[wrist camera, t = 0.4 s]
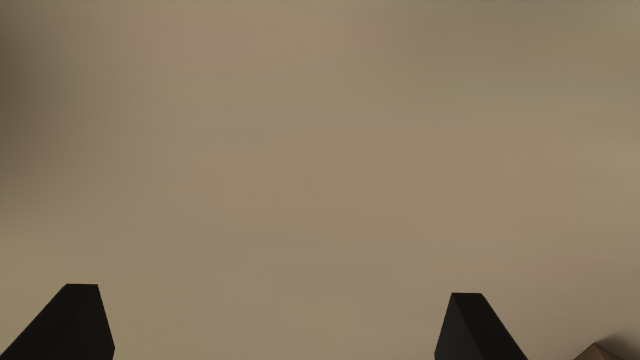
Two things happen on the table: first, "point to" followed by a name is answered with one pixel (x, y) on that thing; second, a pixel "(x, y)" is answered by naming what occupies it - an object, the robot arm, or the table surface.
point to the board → (596, 354)
